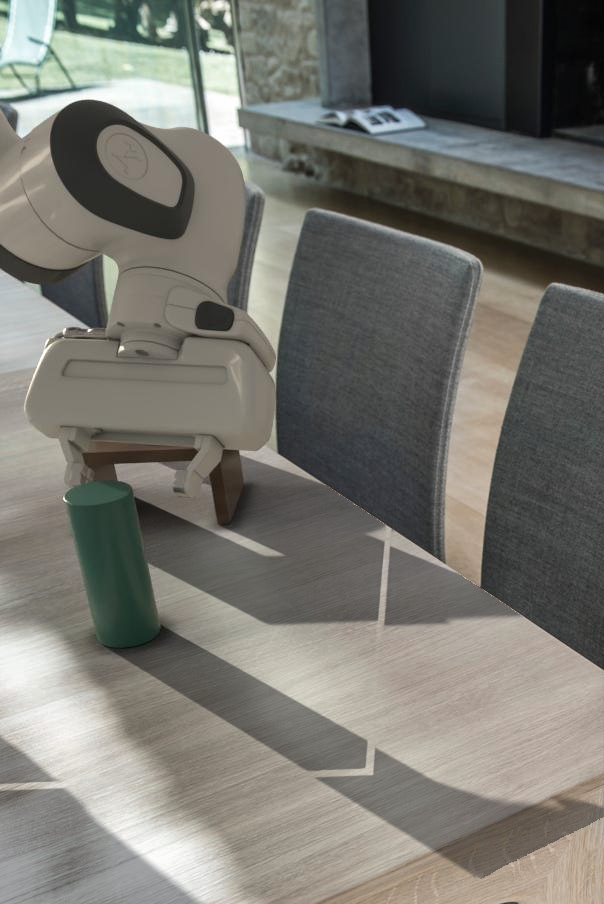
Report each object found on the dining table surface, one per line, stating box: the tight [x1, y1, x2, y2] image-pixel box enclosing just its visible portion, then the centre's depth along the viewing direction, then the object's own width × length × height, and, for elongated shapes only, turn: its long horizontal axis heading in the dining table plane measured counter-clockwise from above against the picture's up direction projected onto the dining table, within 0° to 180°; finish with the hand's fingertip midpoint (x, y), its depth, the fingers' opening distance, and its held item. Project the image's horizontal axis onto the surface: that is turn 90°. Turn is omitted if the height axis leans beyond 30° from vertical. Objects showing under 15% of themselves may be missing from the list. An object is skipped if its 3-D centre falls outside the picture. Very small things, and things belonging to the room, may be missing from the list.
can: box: [62, 480, 162, 649], centre depth 89 cm, size 5×5×12 cm
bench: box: [81, 441, 245, 525], centre depth 111 cm, size 14×10×11 cm
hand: (130, 491), depth 90 cm, fingers open, 8 cm apart
